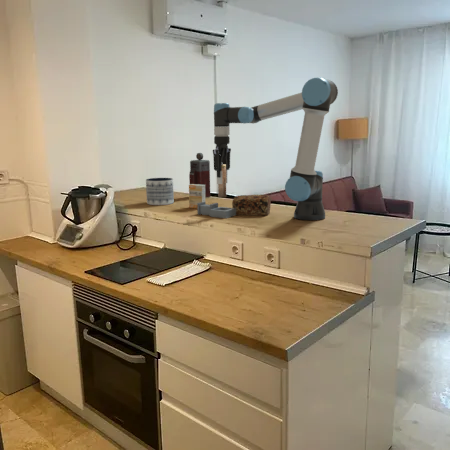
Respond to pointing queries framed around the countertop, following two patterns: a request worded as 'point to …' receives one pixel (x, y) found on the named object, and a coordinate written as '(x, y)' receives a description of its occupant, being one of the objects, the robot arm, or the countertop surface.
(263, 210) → the bread
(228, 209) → the grey ring bracket
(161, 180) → the planter
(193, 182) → the coffee press
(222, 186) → the pipe stub
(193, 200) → the supplement box
